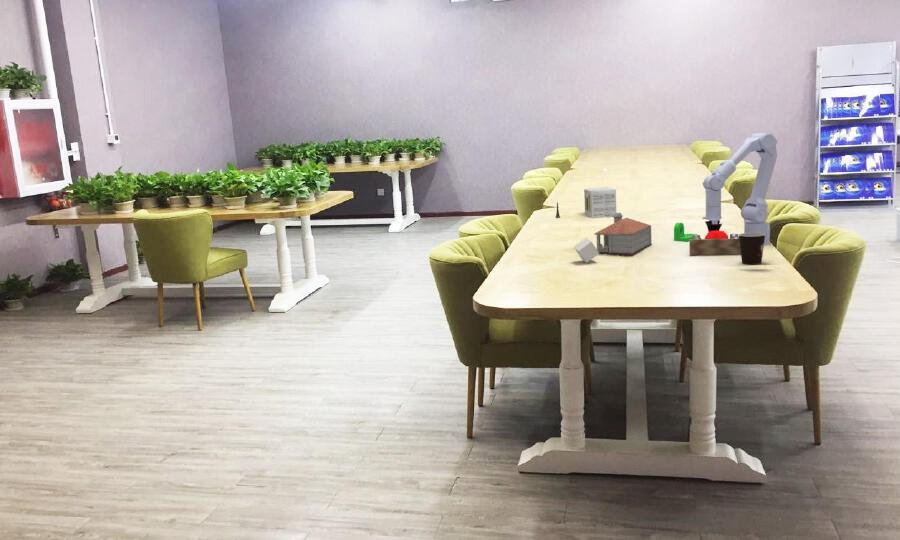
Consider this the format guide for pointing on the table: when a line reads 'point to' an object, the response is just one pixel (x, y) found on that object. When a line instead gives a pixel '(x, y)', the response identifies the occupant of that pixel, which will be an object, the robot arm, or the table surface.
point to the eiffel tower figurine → (557, 212)
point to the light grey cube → (586, 250)
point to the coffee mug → (751, 247)
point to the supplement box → (600, 202)
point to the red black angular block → (716, 235)
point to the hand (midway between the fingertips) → (713, 239)
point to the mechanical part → (681, 233)
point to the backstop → (715, 247)
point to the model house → (624, 237)
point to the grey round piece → (700, 238)
